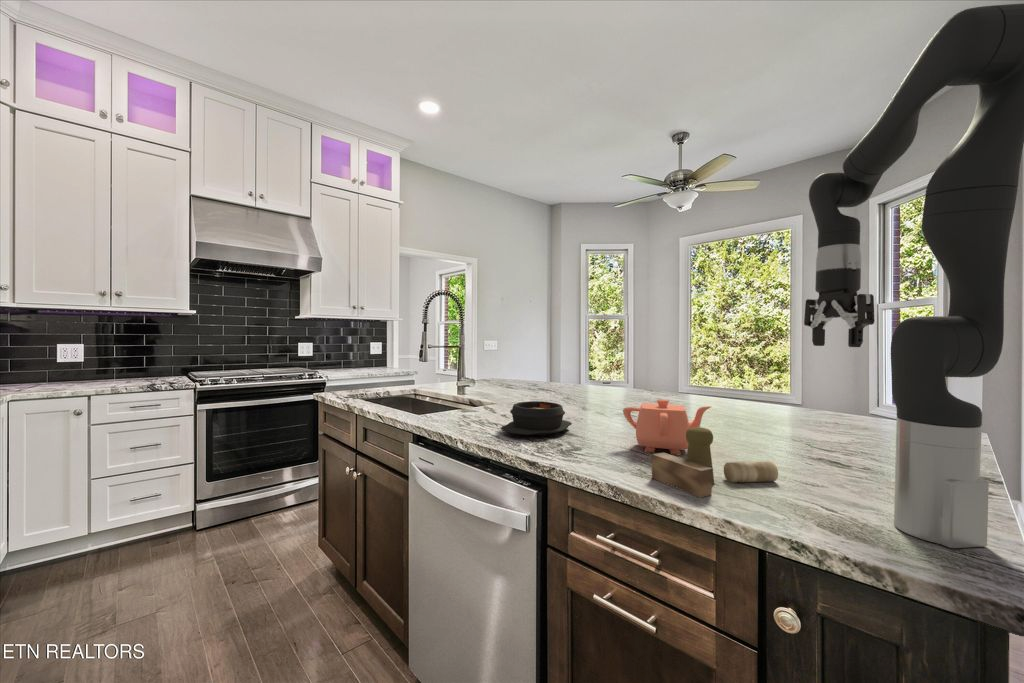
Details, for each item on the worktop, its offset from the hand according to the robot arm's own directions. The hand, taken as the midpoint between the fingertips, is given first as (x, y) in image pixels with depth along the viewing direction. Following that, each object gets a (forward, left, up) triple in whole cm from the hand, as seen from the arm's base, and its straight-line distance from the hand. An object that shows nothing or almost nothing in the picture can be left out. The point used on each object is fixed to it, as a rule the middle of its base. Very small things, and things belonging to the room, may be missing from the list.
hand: (836, 346), depth 90 cm
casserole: (+49, +54, -28) cm, 78 cm away
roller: (+3, +18, -26) cm, 32 cm away
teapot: (+26, +24, -28) cm, 45 cm away
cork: (+2, +29, -28) cm, 41 cm away
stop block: (-1, +34, -28) cm, 44 cm away
